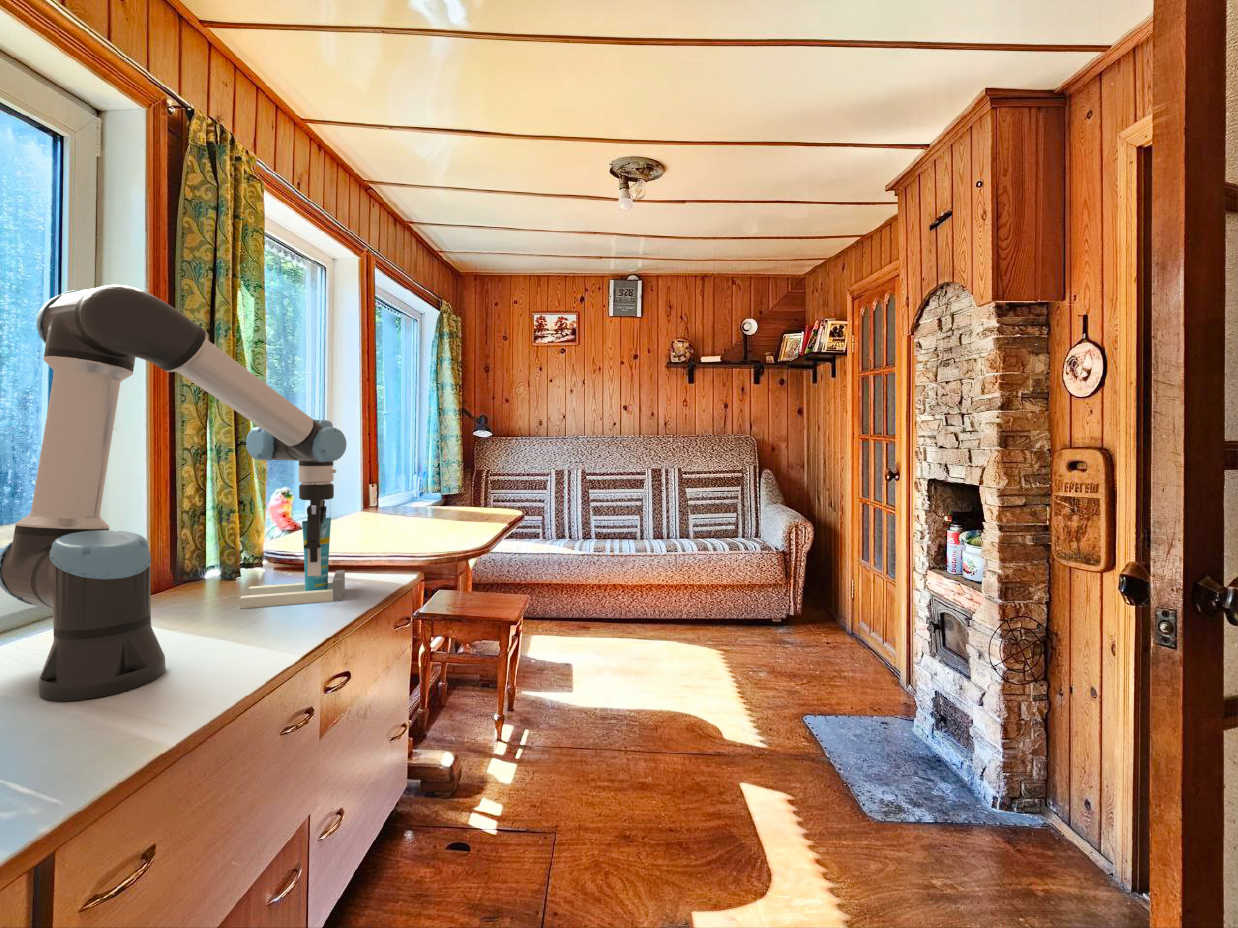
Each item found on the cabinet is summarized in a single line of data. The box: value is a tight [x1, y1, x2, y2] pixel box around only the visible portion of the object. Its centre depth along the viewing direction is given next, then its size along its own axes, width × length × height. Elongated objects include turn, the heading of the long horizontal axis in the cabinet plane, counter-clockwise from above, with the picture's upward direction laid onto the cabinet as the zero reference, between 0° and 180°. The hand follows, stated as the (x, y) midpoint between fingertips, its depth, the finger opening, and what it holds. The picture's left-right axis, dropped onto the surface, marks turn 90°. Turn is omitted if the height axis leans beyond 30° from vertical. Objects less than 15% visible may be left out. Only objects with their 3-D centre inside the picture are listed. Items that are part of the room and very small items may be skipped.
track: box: [239, 569, 346, 610], centre depth 142 cm, size 11×21×5 cm, turn 112°
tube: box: [301, 517, 332, 591], centre depth 144 cm, size 7×5×19 cm, turn 156°
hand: (317, 569), depth 144 cm, fingers open, 13 cm apart
